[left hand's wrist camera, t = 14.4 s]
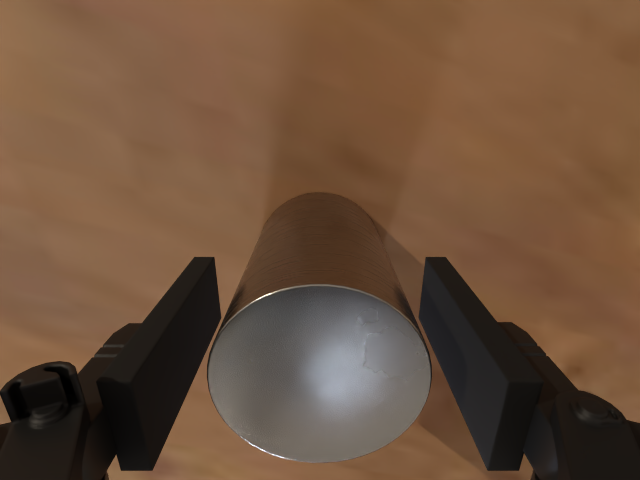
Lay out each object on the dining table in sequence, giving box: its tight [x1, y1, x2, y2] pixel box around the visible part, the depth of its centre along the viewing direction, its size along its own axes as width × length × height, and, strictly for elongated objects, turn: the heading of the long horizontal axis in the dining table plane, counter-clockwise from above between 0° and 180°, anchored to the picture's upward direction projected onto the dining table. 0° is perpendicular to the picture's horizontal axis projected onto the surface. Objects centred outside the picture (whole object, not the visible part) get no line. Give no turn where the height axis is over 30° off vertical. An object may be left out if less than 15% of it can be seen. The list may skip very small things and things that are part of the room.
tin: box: [207, 193, 432, 463], centre depth 14 cm, size 6×6×9 cm
